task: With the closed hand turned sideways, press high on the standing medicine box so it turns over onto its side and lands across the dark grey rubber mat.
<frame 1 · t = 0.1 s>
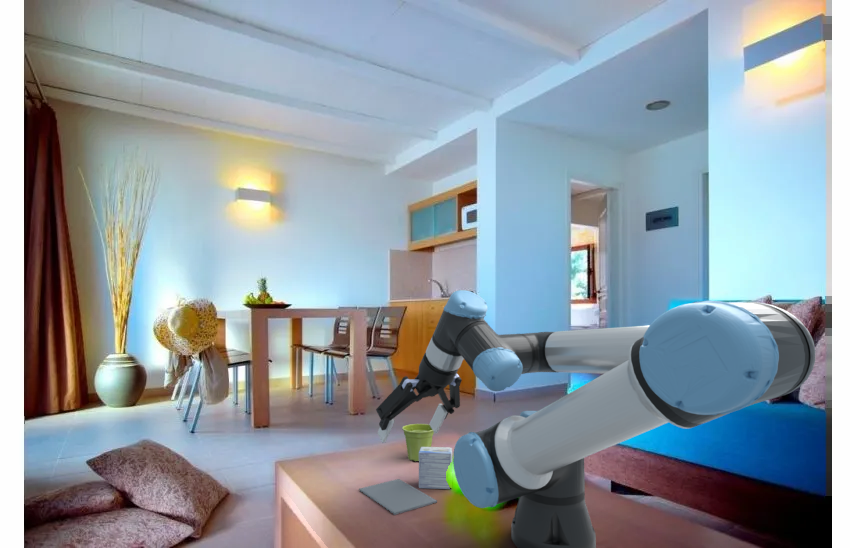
hand: (408, 433, 106), 15 cm above the table, tool tilted 35°, fingers open, 13 cm apart
medicine box: (435, 486, 116), on the table
mat: (396, 496, 110), on the table
plant pot: (418, 459, 136), on the table
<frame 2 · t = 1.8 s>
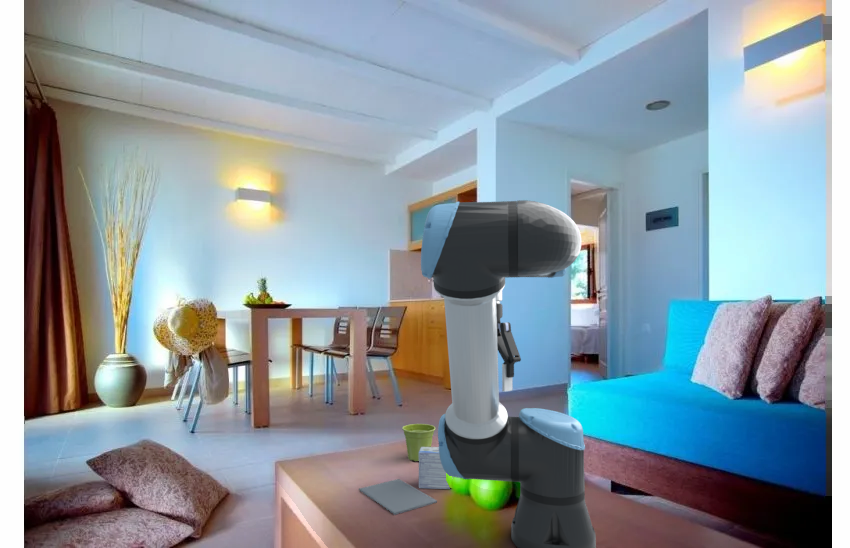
hand: (488, 386, 122), 23 cm above the table, tool pointing down, fingers open, 13 cm apart
nothing on the table moved.
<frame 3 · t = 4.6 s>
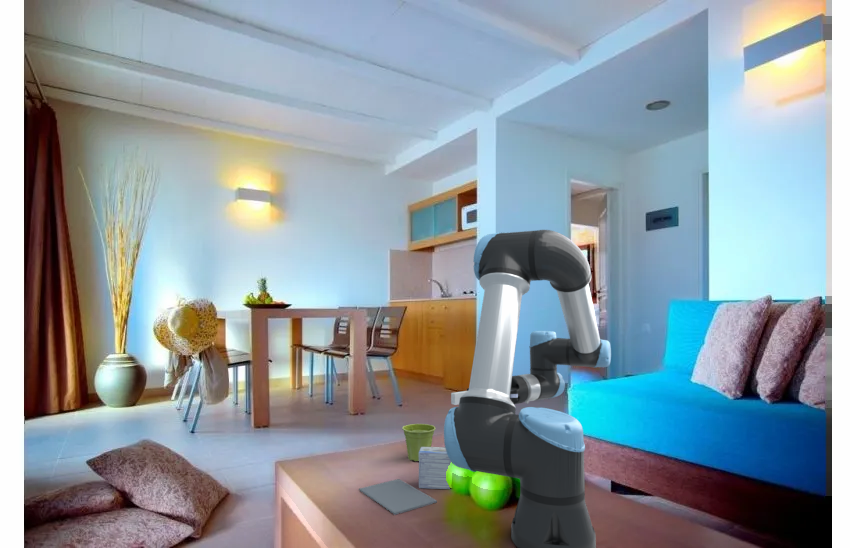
hand: (453, 398, 120), 20 cm above the table, tool horizontal, fingers closed
nothing on the table moved.
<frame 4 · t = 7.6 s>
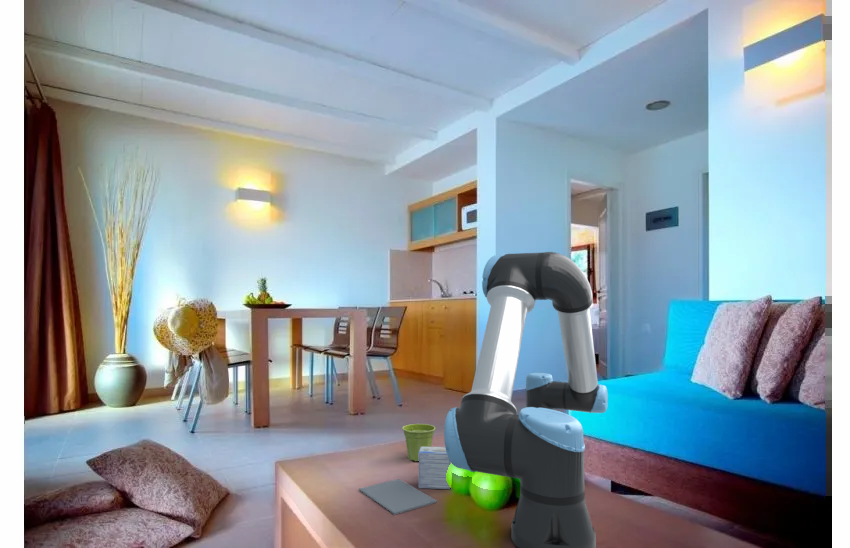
hand: (446, 449, 119), 8 cm above the table, tool horizontal, fingers closed
medicine box: (435, 486, 116), on the table, touching gripper
everything else where it was.
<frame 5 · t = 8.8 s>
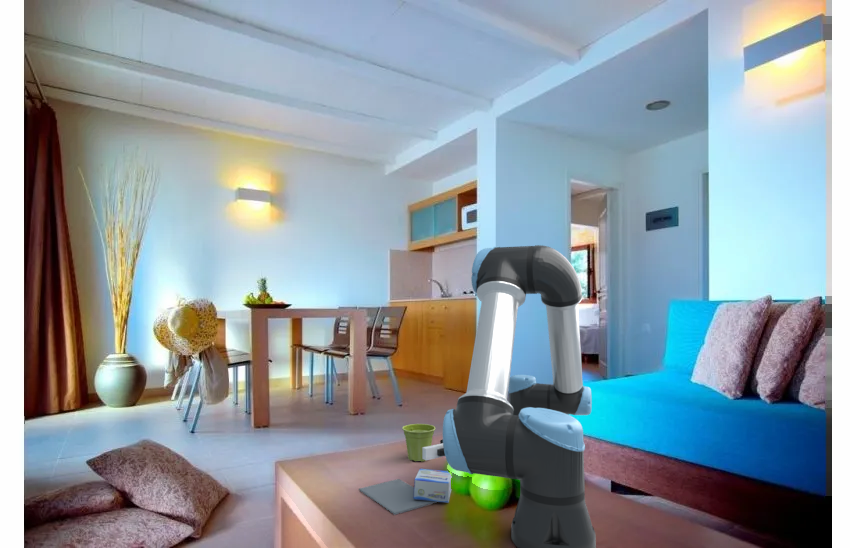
hand: (424, 453, 115), 8 cm above the table, tool horizontal, fingers closed
medicine box: (435, 478, 114), point 2 cm above the table, touching mat
everything else where it was.
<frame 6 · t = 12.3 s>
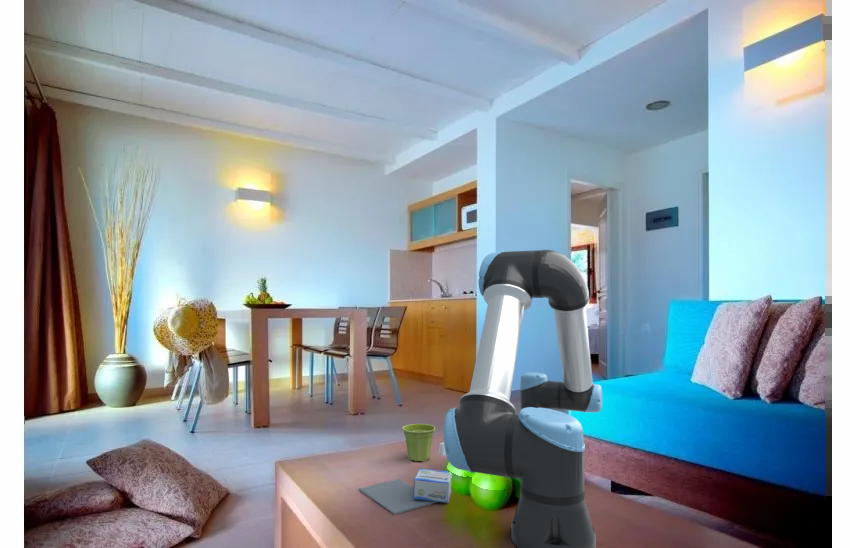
hand: (441, 449, 118), 8 cm above the table, tool horizontal, fingers closed
nothing on the table moved.
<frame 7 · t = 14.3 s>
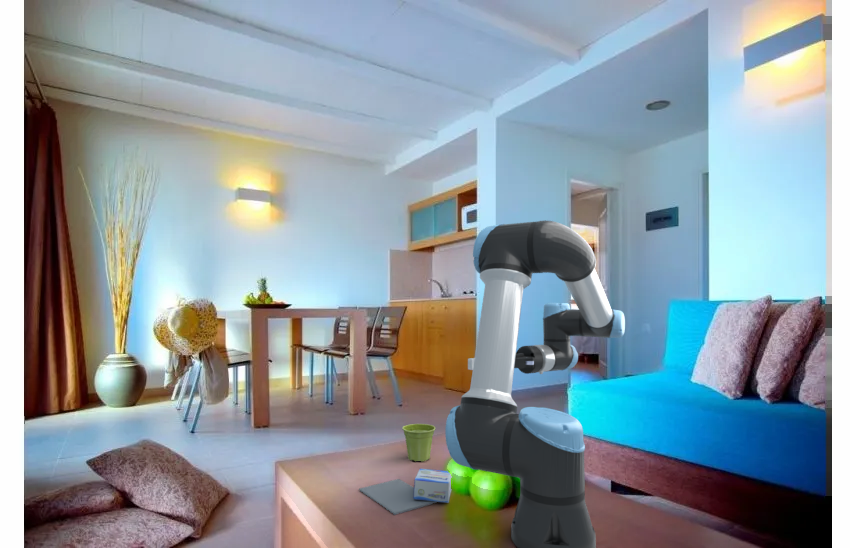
hand: (470, 364, 120), 29 cm above the table, tool horizontal, fingers closed
nothing on the table moved.
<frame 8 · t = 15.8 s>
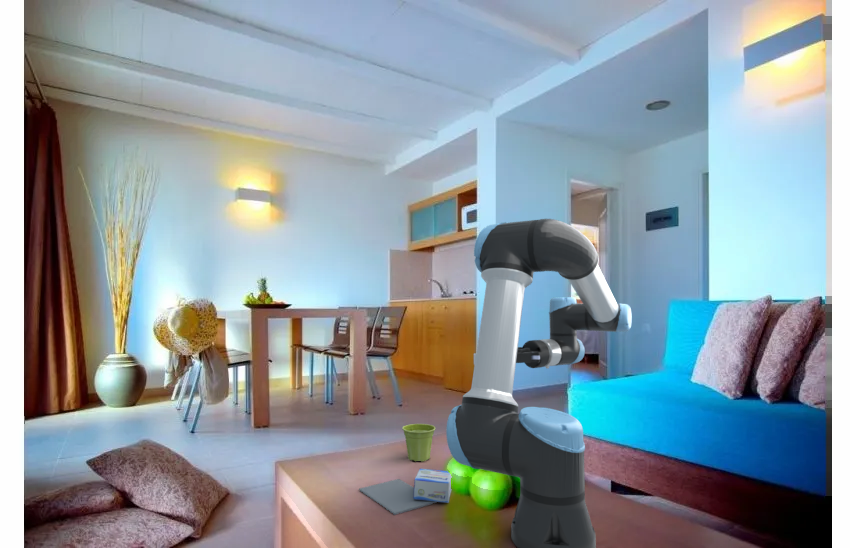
hand: (475, 359, 120), 30 cm above the table, tool horizontal, fingers closed
nothing on the table moved.
at the end: medicine box tilted 87°; medicine box touching mat, table; the gripper is holding nothing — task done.
